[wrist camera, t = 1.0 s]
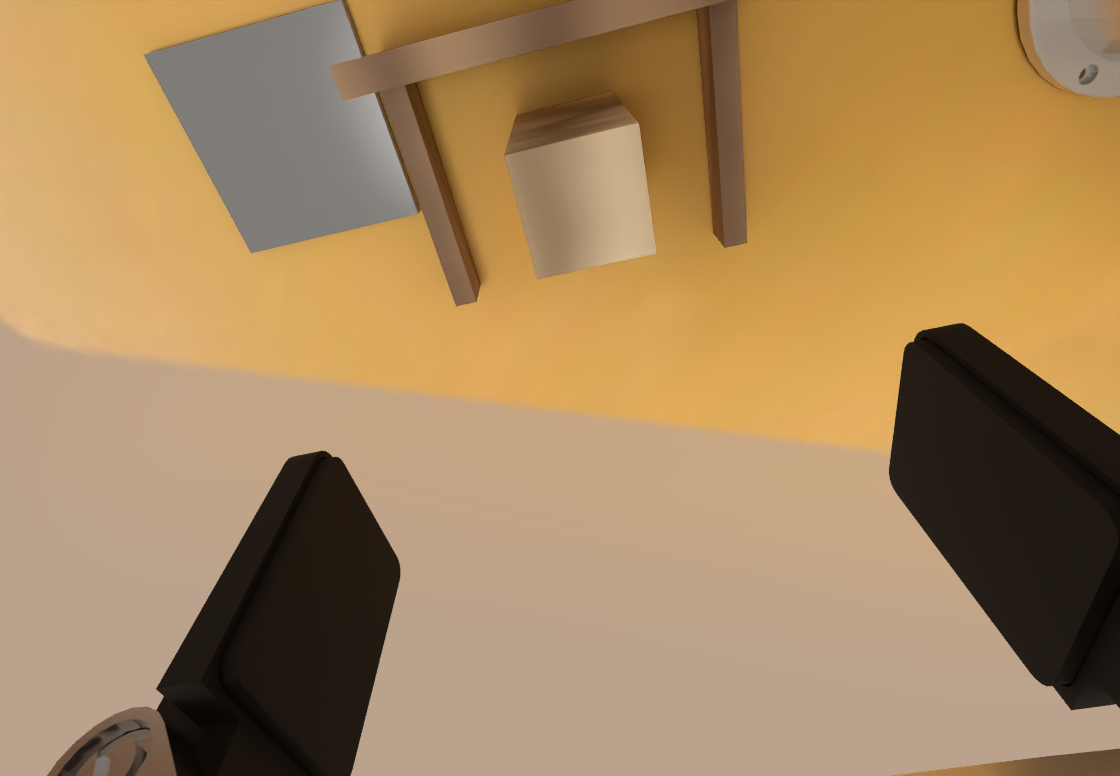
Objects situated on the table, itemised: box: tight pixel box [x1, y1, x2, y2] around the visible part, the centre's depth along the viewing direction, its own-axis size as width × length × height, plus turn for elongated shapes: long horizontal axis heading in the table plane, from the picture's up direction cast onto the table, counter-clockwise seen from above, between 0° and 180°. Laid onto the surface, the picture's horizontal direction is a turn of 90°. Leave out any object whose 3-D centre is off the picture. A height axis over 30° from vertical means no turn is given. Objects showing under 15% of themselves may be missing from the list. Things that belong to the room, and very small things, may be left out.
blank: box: [505, 91, 656, 279], centre depth 26 cm, size 5×5×10 cm
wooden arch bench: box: [329, 0, 747, 306], centre depth 27 cm, size 16×13×8 cm
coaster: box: [144, 0, 420, 253], centre depth 29 cm, size 10×10×1 cm
